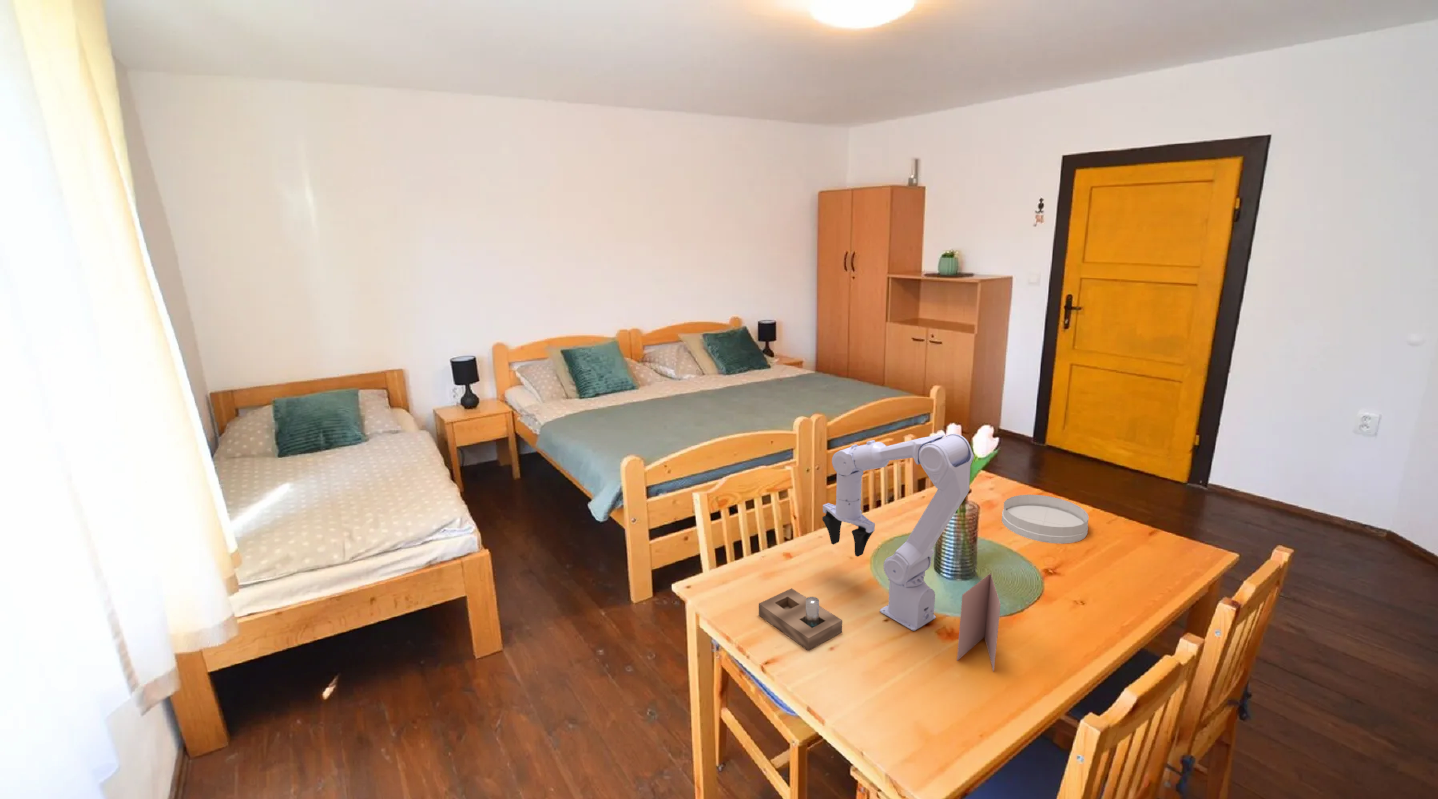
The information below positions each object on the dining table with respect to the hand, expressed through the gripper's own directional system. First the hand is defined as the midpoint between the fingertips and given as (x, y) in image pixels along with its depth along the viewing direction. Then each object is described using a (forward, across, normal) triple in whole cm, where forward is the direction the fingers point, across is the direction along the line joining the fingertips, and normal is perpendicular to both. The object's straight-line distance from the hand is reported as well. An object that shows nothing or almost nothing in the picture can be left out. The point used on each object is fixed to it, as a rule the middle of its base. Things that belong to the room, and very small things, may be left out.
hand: (846, 548), depth 154 cm
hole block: (+9, -4, +20) cm, 23 cm away
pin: (+9, -8, +20) cm, 23 cm away
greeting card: (+10, -36, -1) cm, 37 cm away
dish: (+10, -15, -67) cm, 69 cm away
